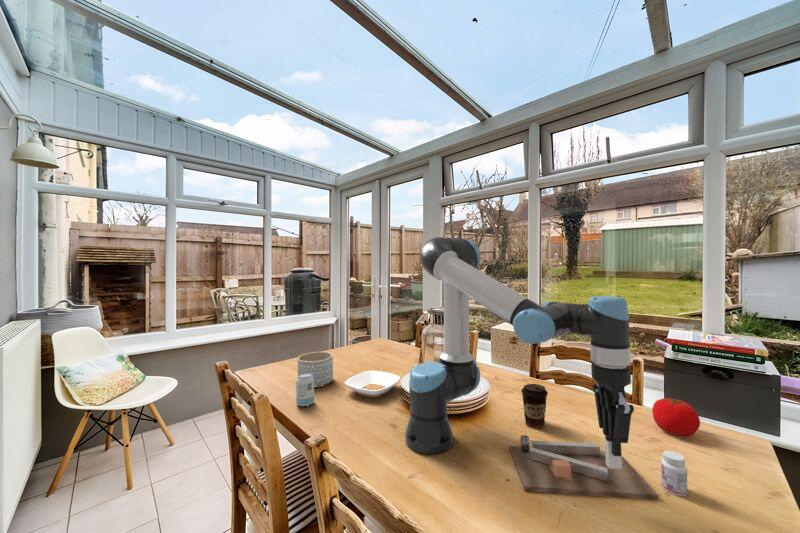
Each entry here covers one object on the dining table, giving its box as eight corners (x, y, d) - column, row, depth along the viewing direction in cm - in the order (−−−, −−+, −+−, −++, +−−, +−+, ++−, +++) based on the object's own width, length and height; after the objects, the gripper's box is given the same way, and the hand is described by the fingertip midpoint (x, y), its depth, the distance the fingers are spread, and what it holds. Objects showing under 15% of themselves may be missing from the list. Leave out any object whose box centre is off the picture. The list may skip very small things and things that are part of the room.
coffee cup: (551, 432, 103) (550, 392, 103) (524, 430, 105) (524, 391, 105) (544, 419, 112) (544, 382, 112) (520, 417, 113) (519, 381, 113)
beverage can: (313, 399, 132) (313, 371, 132) (314, 406, 126) (314, 376, 126) (296, 402, 130) (295, 373, 130) (296, 409, 124) (295, 378, 124)
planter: (328, 389, 143) (328, 361, 143) (292, 389, 143) (292, 362, 143) (336, 376, 160) (335, 351, 160) (304, 376, 160) (303, 352, 160)
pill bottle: (656, 483, 79) (655, 450, 78) (673, 482, 79) (673, 448, 79) (674, 497, 74) (674, 462, 74) (693, 496, 74) (692, 460, 74)
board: (524, 491, 77) (524, 485, 77) (509, 450, 94) (509, 445, 94) (658, 499, 73) (658, 494, 73) (617, 455, 90) (617, 451, 90)
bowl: (406, 387, 143) (406, 376, 143) (378, 406, 125) (378, 393, 125) (369, 379, 155) (368, 368, 155) (338, 395, 136) (338, 383, 136)
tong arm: (529, 459, 87) (529, 450, 87) (531, 455, 89) (531, 447, 89) (607, 481, 78) (607, 472, 78) (607, 477, 79) (607, 468, 79)
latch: (556, 477, 80) (555, 465, 80) (552, 470, 82) (552, 459, 82) (571, 478, 79) (571, 466, 79) (567, 471, 82) (567, 460, 82)
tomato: (661, 438, 98) (661, 405, 98) (646, 420, 109) (645, 390, 109) (707, 445, 94) (707, 410, 94) (686, 425, 106) (686, 394, 105)
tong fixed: (522, 452, 90) (521, 439, 90) (520, 448, 93) (519, 434, 93) (600, 456, 88) (600, 442, 88) (596, 452, 90) (596, 438, 90)
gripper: (646, 373, 65) (650, 487, 65) (612, 356, 78) (615, 450, 78) (607, 373, 66) (611, 485, 66) (580, 355, 79) (583, 449, 79)
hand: (613, 466), depth 72 cm, fingers closed
